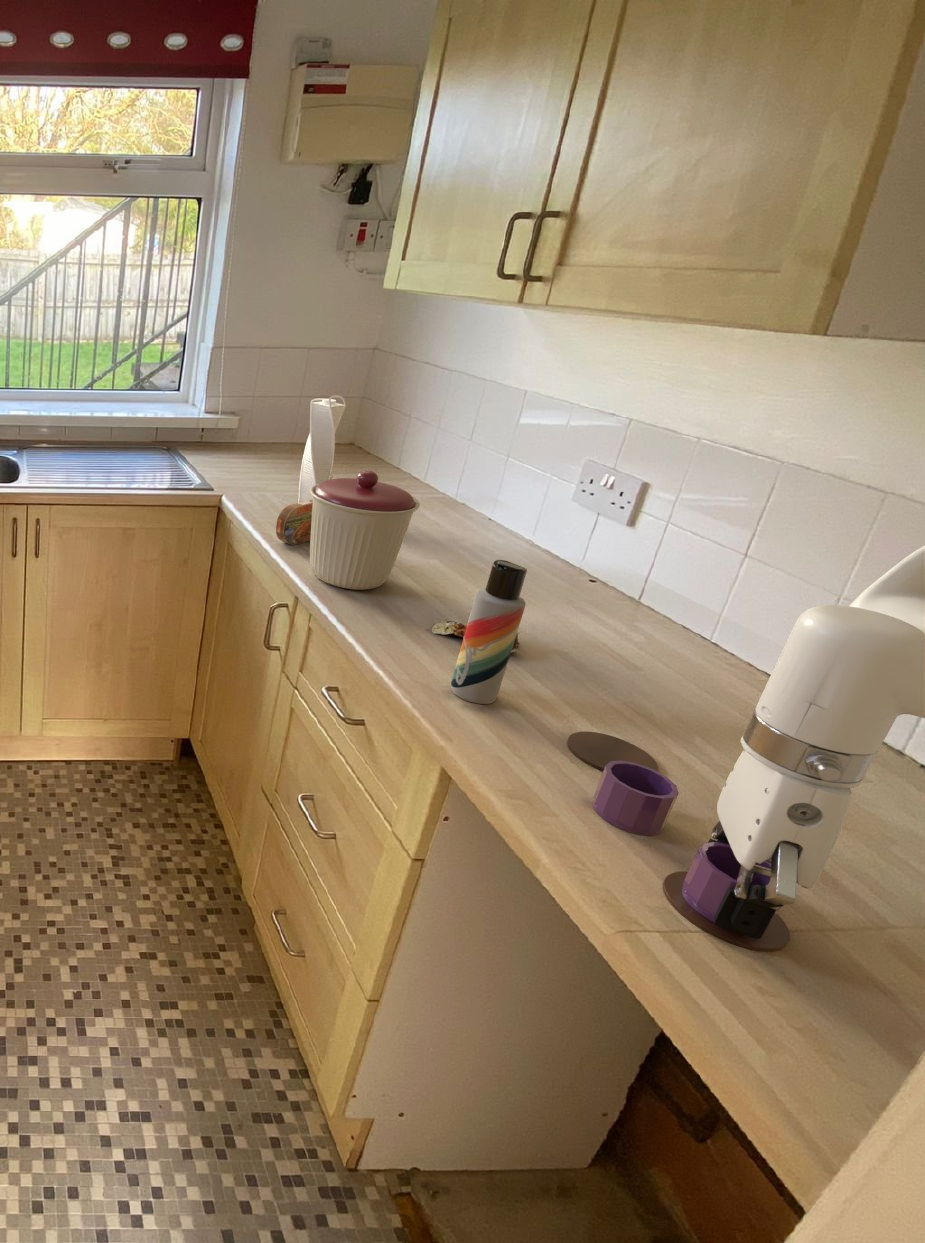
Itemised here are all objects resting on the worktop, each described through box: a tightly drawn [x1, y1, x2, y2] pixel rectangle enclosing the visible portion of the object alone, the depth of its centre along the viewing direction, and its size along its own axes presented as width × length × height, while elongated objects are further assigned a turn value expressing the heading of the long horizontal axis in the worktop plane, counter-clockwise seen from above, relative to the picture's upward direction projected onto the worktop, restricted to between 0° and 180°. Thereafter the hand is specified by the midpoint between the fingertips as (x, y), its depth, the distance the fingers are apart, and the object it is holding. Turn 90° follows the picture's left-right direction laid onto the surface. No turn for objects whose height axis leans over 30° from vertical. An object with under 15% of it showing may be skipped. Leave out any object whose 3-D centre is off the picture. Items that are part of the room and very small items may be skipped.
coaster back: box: [566, 730, 659, 772], centre depth 94 cm, size 9×9×1 cm
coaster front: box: [662, 870, 791, 952], centre depth 72 cm, size 9×9×1 cm
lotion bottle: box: [450, 559, 528, 705], centre depth 103 cm, size 6×6×20 cm
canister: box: [309, 470, 421, 591], centre depth 139 cm, size 18×18×21 cm
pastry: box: [431, 619, 521, 653], centre depth 121 cm, size 7×12×4 cm, turn 53°
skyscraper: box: [297, 394, 347, 503], centre depth 174 cm, size 8×8×28 cm
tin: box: [275, 500, 313, 546], centre depth 161 cm, size 15×3×8 cm, turn 120°
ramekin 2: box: [681, 842, 779, 931], centre depth 71 cm, size 6×6×5 cm
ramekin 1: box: [591, 761, 680, 836], centre depth 83 cm, size 6×6×5 cm
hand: (726, 902), depth 72 cm, fingers closed on ramekin 2, 6 cm apart
